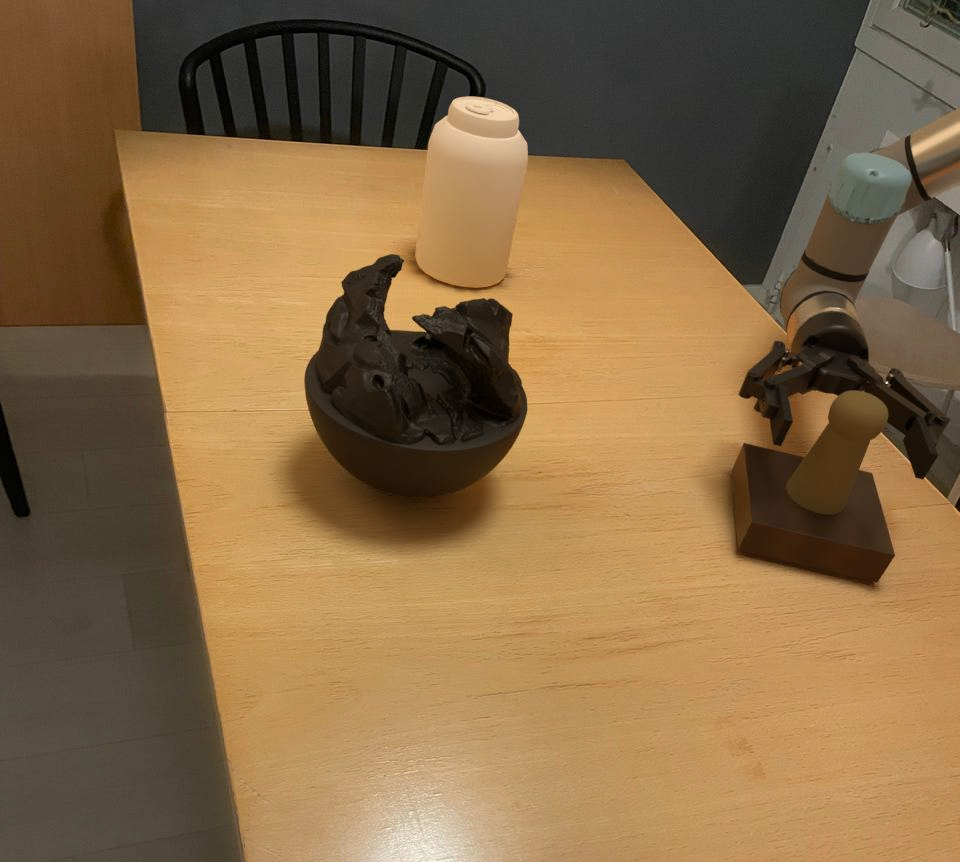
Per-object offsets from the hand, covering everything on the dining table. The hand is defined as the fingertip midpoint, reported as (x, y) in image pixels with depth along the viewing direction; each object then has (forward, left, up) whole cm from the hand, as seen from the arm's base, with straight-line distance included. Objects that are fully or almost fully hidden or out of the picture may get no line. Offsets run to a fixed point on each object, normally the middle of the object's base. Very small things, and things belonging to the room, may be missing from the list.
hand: (855, 450), depth 83 cm
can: (+43, -45, -12) cm, 63 cm away
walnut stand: (0, -3, -12) cm, 12 cm away
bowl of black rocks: (+40, +4, -12) cm, 42 cm away
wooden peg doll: (0, -3, -8) cm, 8 cm away
